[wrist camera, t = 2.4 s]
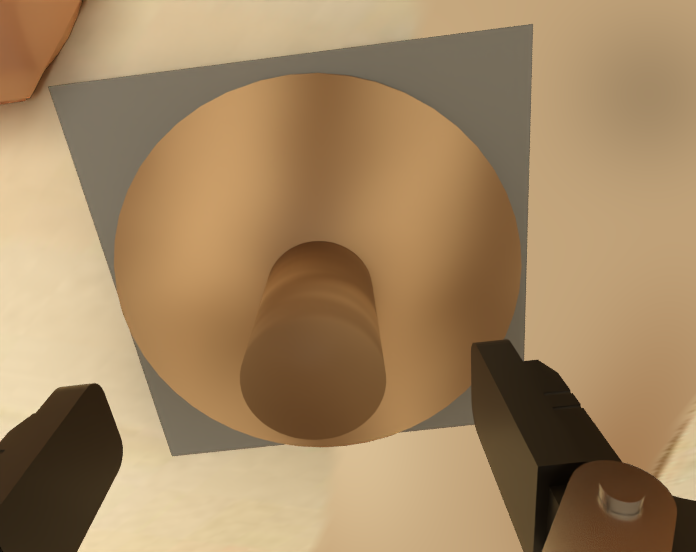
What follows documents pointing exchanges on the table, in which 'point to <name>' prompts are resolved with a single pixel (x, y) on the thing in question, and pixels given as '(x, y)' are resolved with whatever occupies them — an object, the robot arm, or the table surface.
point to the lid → (316, 259)
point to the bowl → (31, 42)
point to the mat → (363, 62)
